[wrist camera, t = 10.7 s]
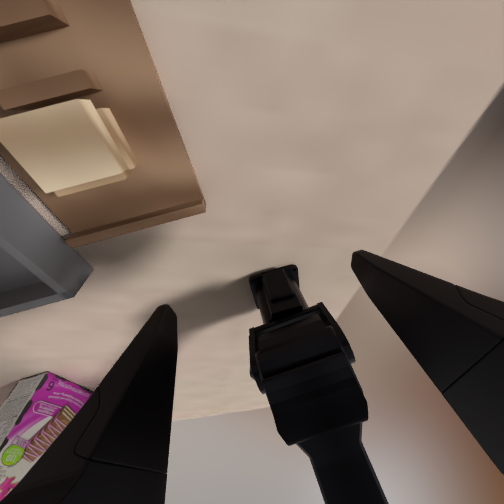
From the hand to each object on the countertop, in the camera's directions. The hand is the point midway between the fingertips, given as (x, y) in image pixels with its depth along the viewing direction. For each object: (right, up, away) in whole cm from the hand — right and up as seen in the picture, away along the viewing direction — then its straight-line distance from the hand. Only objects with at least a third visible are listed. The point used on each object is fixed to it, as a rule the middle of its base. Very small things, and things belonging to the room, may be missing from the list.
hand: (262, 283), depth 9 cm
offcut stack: (-12, +10, +6) cm, 16 cm away
